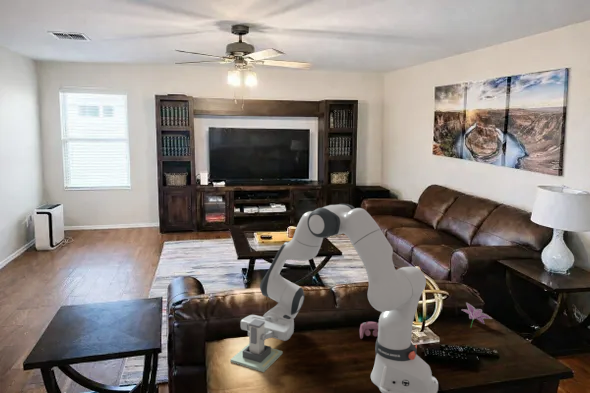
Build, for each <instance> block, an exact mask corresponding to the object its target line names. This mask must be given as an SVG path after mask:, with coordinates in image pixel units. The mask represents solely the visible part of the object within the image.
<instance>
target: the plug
mask: <svg viewBox="0 0 590 393" xmlns="http://www.w3.org/2000/svg"><path fill="white" fill-rule="evenodd" d="M264 328H265V321H261V320H257V319H255V320H253V321H252V322H251V323H249V336H248V337H249V343H248V344H249V352H252V353H255V354H258V355H260V354H261V353H262V352H264V345H265V340H261V339H260V338H261V337H260V336H261V335H262V334H264Z"/></svg>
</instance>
